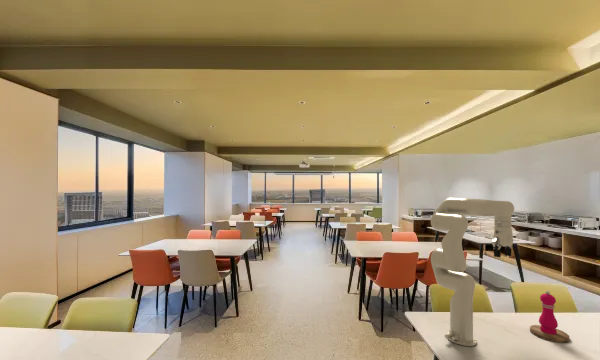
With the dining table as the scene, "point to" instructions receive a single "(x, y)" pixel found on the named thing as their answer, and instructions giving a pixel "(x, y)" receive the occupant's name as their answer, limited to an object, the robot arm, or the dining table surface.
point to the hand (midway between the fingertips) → (502, 256)
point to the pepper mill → (548, 314)
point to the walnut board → (558, 337)
